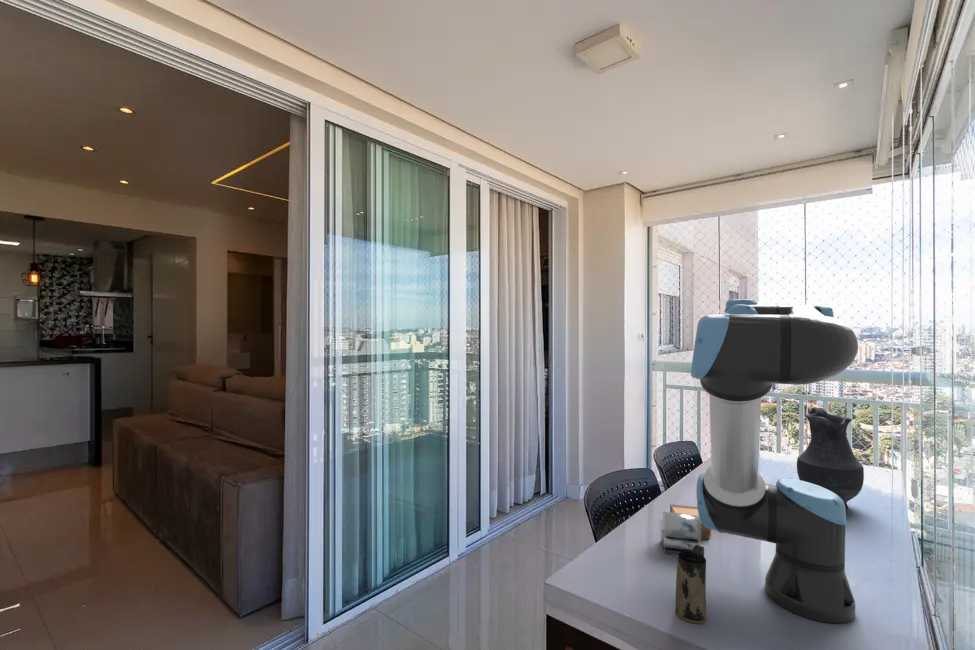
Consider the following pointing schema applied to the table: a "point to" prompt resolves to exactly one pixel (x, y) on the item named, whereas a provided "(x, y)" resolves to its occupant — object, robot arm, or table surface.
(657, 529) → the table surface
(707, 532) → the cardboard box
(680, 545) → the v block
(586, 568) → the table surface
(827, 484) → the pitcher
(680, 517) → the silver metal cylinder
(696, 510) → the orange brown block
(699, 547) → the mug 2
